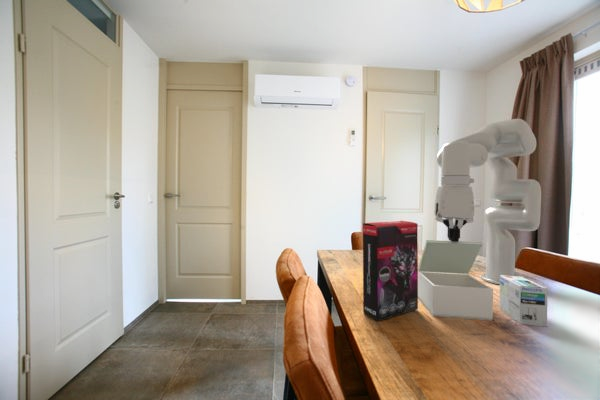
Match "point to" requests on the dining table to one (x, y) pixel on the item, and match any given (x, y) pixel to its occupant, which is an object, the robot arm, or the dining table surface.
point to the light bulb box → (523, 300)
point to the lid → (449, 256)
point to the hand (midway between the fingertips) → (453, 240)
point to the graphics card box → (390, 268)
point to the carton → (455, 296)
